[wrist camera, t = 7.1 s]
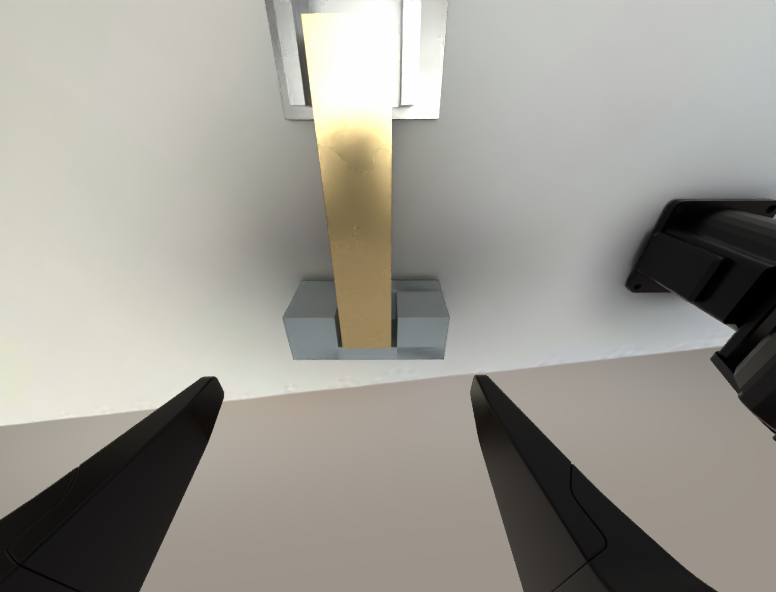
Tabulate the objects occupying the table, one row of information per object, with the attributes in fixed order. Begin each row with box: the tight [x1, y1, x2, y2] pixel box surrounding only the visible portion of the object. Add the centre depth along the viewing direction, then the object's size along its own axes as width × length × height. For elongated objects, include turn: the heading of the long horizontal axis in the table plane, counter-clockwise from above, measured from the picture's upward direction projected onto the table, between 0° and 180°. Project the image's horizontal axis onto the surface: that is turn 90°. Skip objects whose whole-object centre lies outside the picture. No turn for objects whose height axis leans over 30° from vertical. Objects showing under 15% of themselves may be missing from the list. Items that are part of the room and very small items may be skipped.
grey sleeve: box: [265, 0, 448, 119], centre depth 11 cm, size 8×7×4 cm
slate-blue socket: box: [283, 280, 450, 360], centre depth 20 cm, size 10×4×4 cm, turn 90°
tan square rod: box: [301, 13, 392, 349], centre depth 15 cm, size 3×15×3 cm, turn 0°
